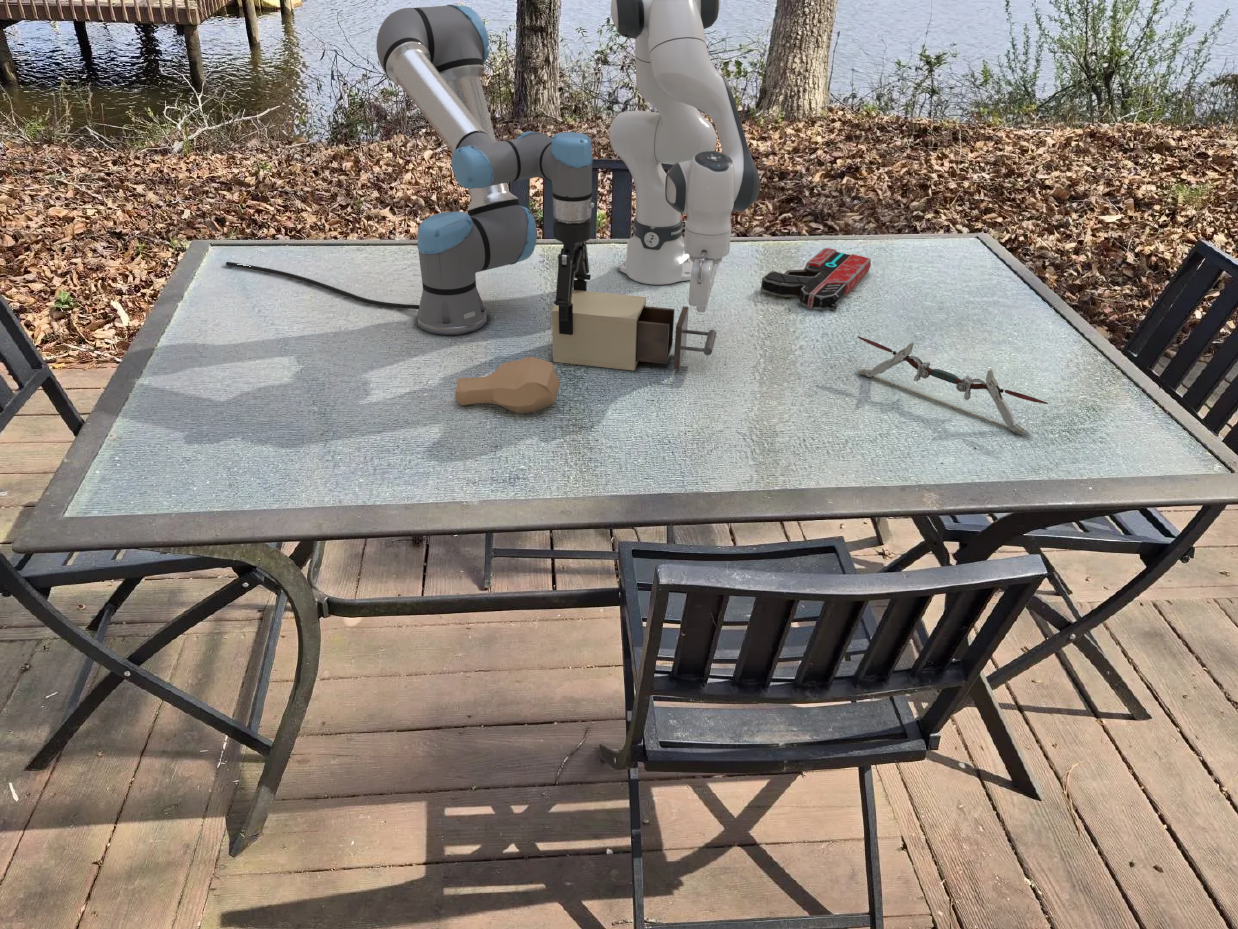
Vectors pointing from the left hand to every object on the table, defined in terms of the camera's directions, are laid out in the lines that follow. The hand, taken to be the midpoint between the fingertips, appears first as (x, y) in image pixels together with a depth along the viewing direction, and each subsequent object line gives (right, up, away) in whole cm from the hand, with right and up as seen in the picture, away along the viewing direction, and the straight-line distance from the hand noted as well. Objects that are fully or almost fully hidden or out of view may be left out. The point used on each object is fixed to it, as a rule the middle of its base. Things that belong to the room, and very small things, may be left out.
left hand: (573, 321), depth 182 cm
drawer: (+18, -7, 0) cm, 19 cm away
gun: (+59, +15, +38) cm, 72 cm away
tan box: (+5, -6, +3) cm, 9 cm away
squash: (-12, -18, -16) cm, 27 cm away
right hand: (+26, +1, -7) cm, 27 cm away
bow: (+72, -18, -11) cm, 75 cm away
